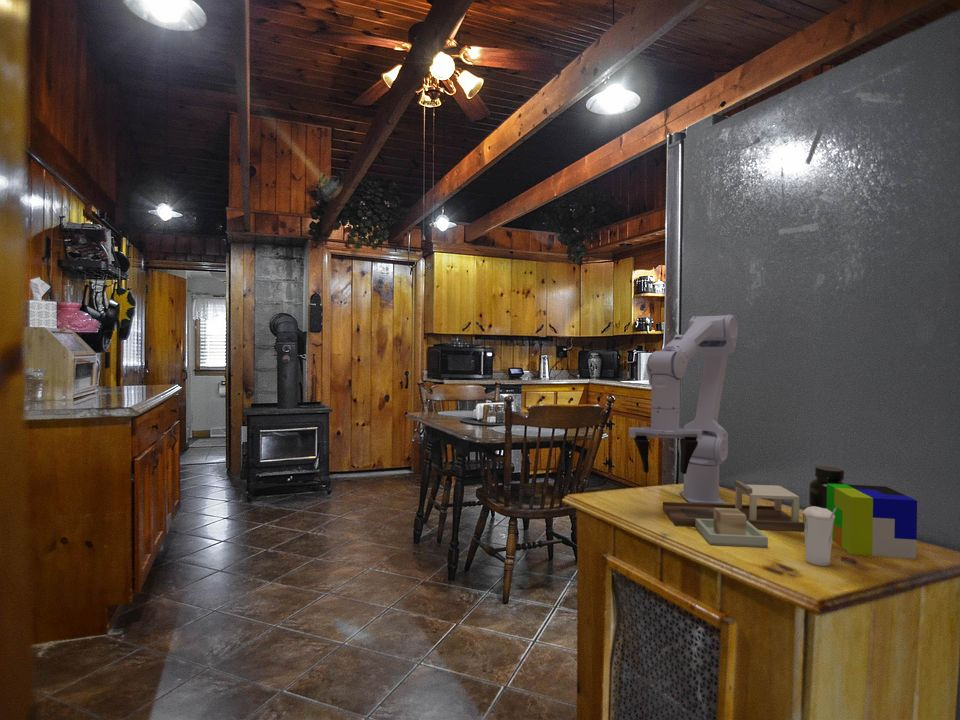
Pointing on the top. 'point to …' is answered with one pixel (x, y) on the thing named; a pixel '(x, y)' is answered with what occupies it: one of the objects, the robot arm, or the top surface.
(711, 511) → the board
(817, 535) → the milkshake
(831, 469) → the supplement bottle
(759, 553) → the top surface
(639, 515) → the top surface
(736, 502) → the cover
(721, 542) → the sage tray
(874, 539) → the puzzle toy
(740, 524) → the maple block
